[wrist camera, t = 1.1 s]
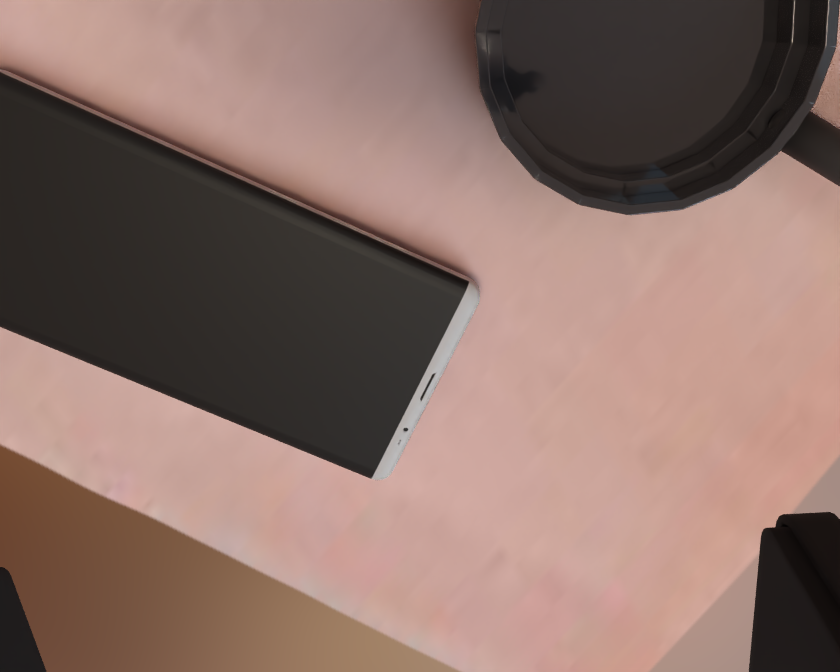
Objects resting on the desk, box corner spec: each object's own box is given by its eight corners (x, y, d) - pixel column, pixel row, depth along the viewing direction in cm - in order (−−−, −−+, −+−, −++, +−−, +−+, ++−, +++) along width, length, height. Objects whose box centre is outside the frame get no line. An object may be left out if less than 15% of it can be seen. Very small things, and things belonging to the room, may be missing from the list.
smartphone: (-5, 60, 40) (-25, 62, 38) (486, 280, 43) (486, 291, 41) (-55, 289, 44) (-75, 300, 43) (387, 472, 47) (385, 488, 46)
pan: (418, 98, 39) (413, 108, 35) (590, -222, 34) (607, -251, 30) (670, 246, 41) (692, 271, 37) (870, -33, 36) (919, -37, 32)
